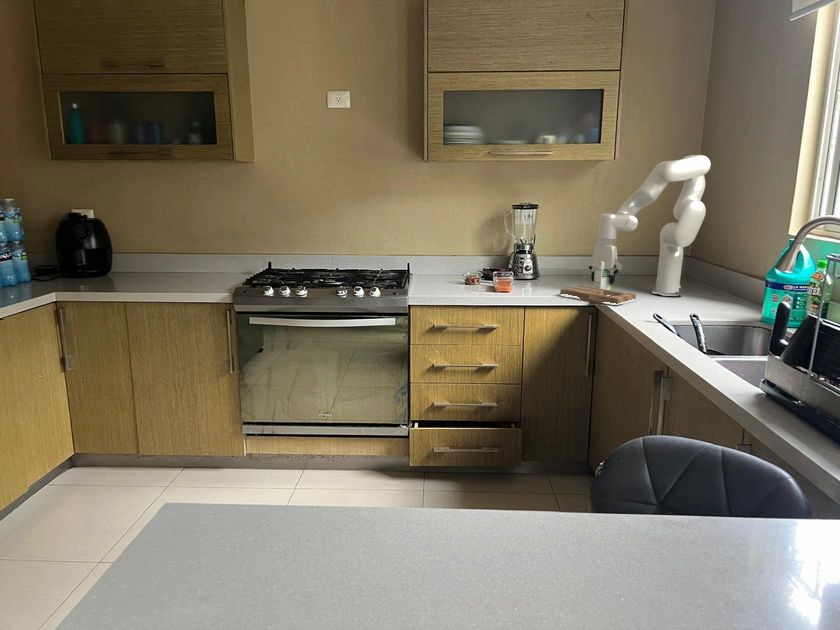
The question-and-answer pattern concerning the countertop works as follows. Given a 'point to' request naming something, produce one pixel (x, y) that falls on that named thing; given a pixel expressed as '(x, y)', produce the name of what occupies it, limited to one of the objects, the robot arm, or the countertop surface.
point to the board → (598, 294)
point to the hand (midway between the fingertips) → (602, 282)
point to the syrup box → (602, 277)
